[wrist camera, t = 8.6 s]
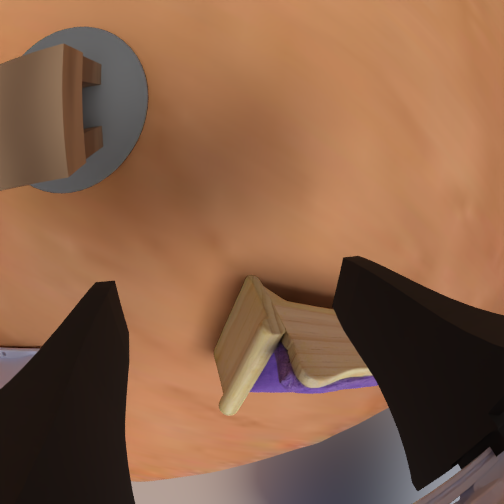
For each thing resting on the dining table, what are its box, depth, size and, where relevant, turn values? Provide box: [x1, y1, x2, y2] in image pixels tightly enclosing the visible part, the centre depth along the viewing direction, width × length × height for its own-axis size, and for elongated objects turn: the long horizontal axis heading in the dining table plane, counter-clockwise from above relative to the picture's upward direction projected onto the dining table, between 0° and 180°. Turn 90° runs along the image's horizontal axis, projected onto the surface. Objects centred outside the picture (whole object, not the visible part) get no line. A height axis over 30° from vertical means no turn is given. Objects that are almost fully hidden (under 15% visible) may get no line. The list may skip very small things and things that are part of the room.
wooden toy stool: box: [0, 44, 103, 191], centre depth 10 cm, size 5×5×6 cm
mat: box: [23, 27, 148, 193], centre depth 13 cm, size 10×10×1 cm
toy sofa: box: [214, 275, 378, 415], centre depth 23 cm, size 21×9×10 cm, turn 68°
